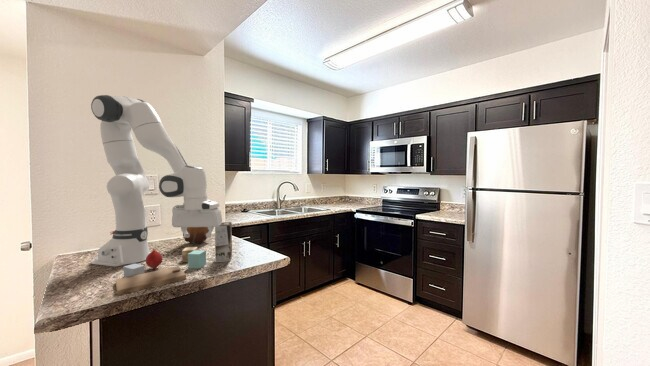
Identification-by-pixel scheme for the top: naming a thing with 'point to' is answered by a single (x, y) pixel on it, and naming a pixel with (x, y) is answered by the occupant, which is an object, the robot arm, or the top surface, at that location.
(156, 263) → the onion
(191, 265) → the teal block
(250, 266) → the top surface
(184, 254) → the beech block
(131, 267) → the slate block
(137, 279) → the board
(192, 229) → the butternut squash
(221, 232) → the coffee box
